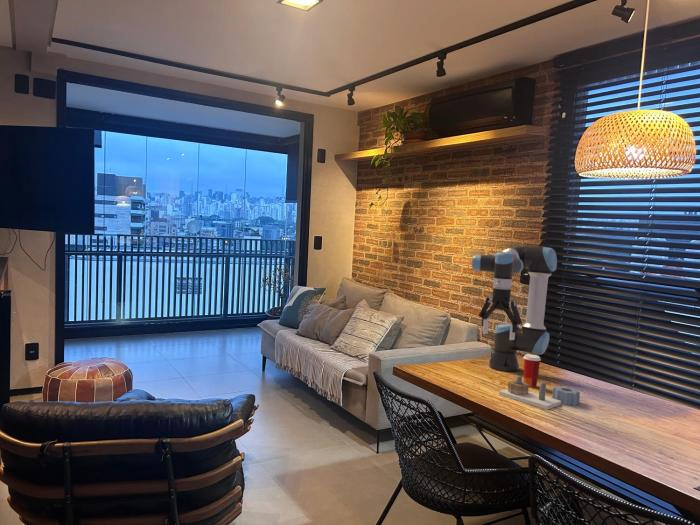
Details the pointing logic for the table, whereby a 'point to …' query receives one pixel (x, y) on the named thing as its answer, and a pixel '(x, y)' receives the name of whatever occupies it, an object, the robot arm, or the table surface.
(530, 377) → the paper cup
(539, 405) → the gear board
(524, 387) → the beech gear
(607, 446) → the table surface
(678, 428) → the table surface
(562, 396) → the gray gear
